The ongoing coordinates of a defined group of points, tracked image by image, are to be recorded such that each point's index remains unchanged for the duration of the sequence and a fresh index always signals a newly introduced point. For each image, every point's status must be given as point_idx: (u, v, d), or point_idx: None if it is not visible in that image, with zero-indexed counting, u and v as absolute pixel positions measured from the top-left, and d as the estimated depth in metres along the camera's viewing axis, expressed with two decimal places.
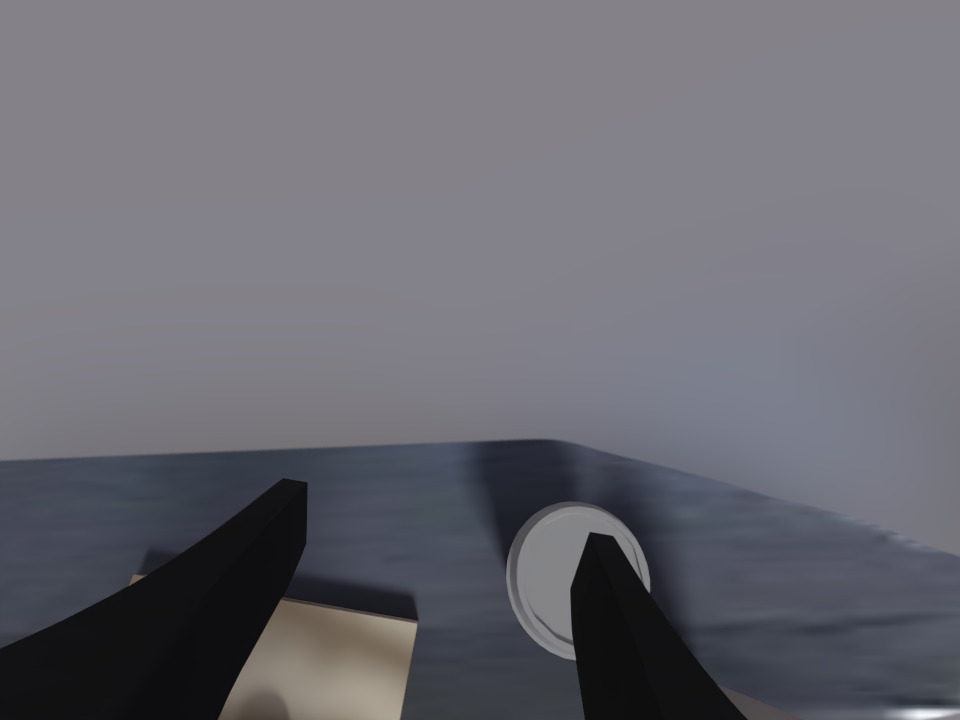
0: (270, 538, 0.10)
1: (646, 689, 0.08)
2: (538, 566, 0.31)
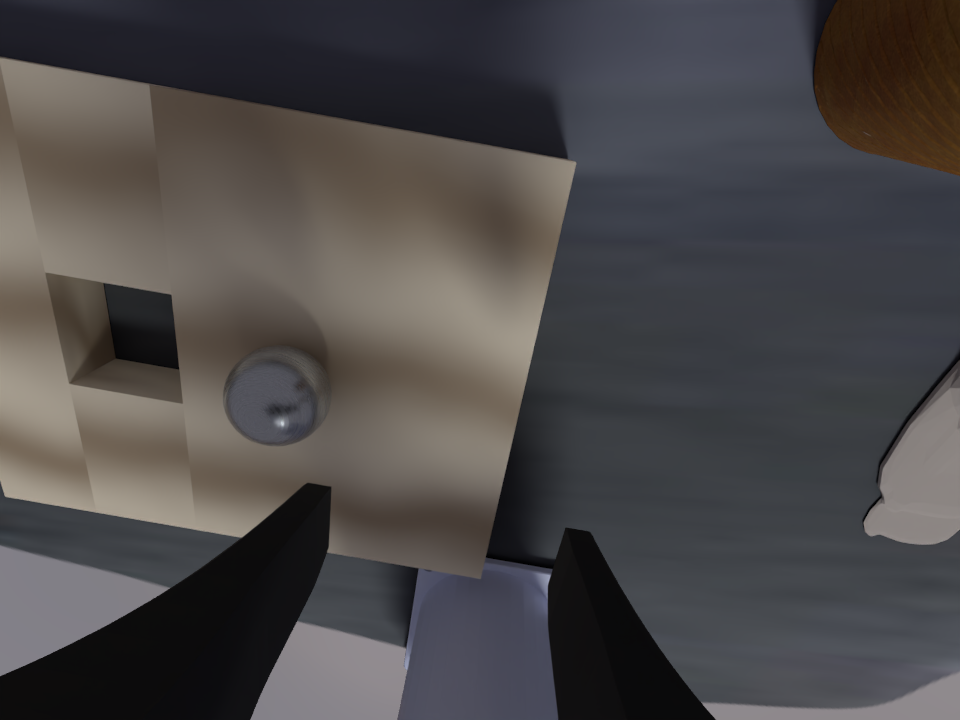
0: (298, 543, 0.10)
1: (610, 683, 0.08)
2: None
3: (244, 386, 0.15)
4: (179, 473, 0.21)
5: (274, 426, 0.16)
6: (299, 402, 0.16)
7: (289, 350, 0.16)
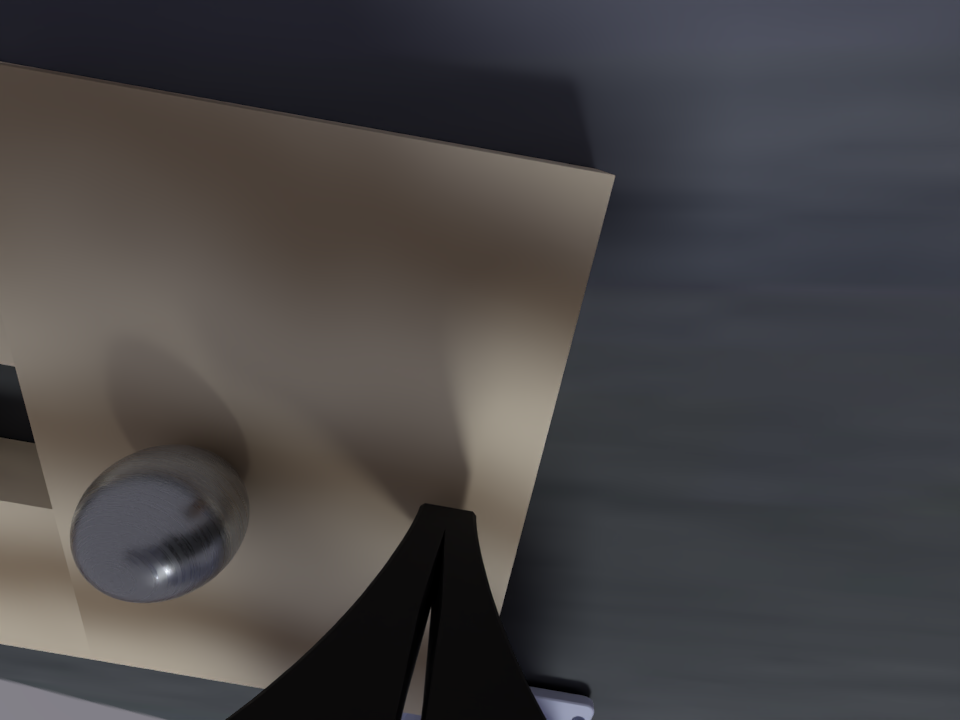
0: (434, 567, 0.10)
1: None
2: None
3: (93, 526, 0.10)
4: (60, 594, 0.15)
5: (143, 586, 0.10)
6: (184, 546, 0.10)
7: (177, 457, 0.11)
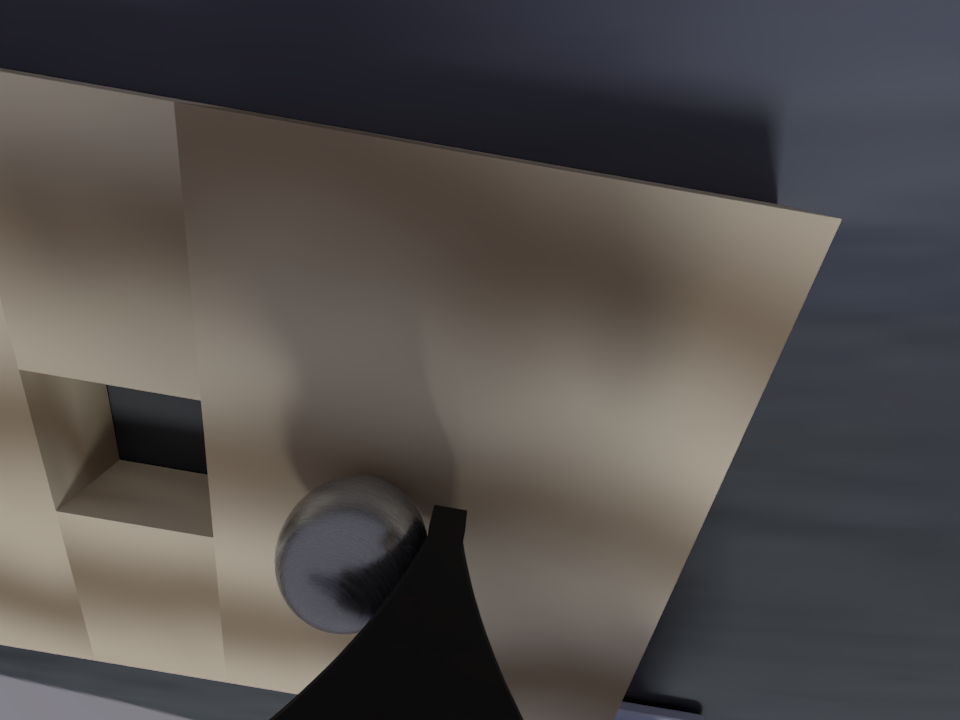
0: None
1: None
2: None
3: (307, 557, 0.10)
4: (205, 618, 0.16)
5: (348, 619, 0.10)
6: (387, 582, 0.10)
7: (373, 491, 0.11)
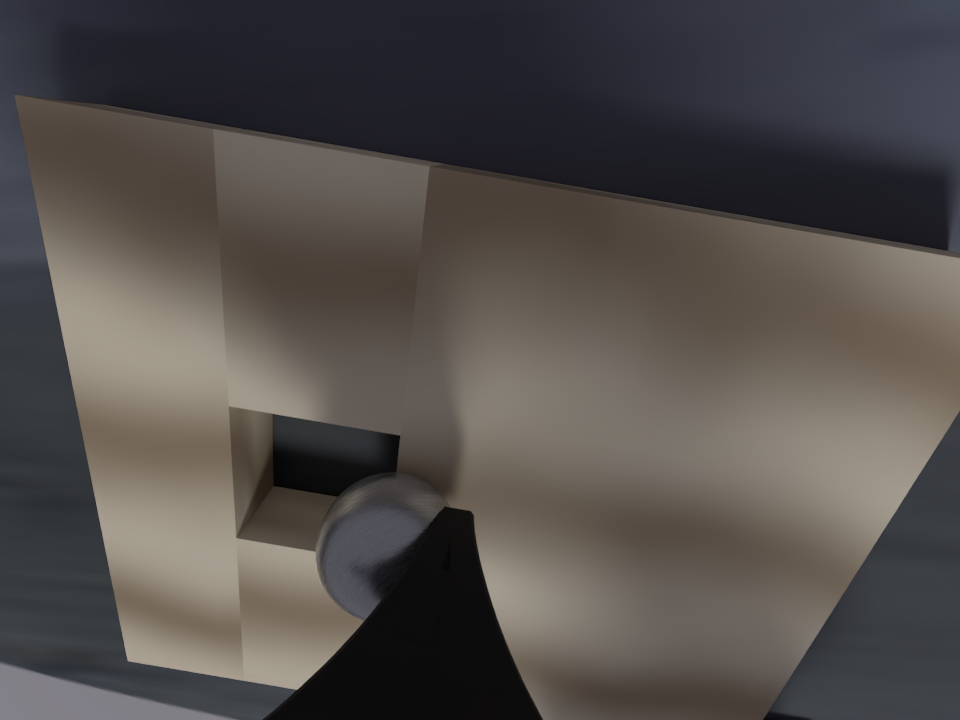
0: None
1: None
2: None
3: None
4: None
5: None
6: (334, 501, 0.12)
7: (393, 501, 0.11)
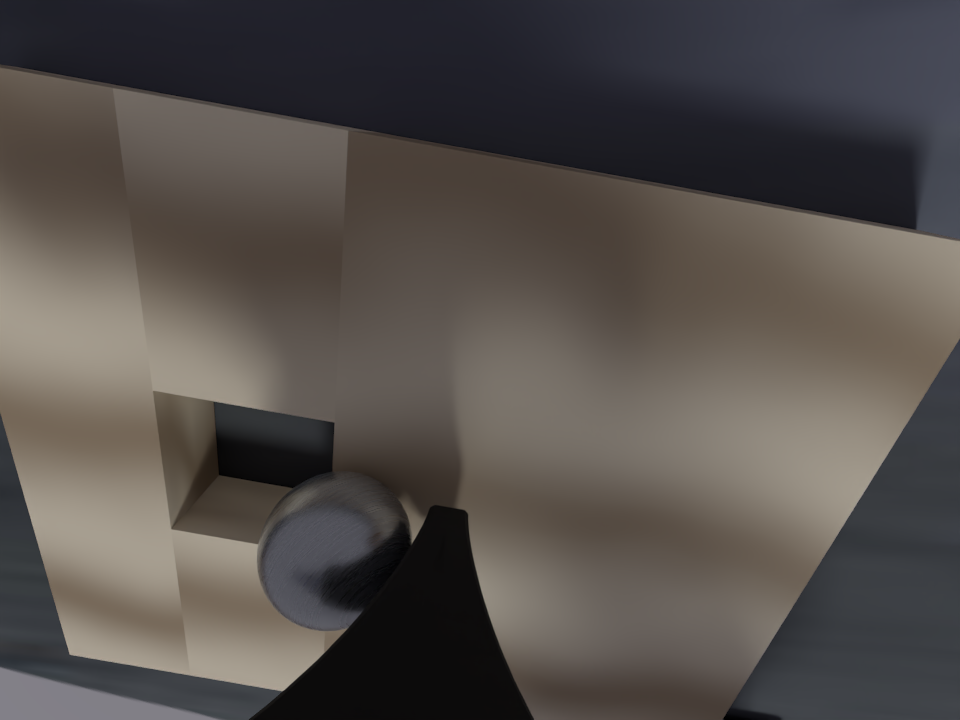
0: None
1: None
2: None
3: (333, 472, 0.12)
4: (309, 635, 0.16)
5: None
6: (269, 517, 0.11)
7: (340, 510, 0.10)
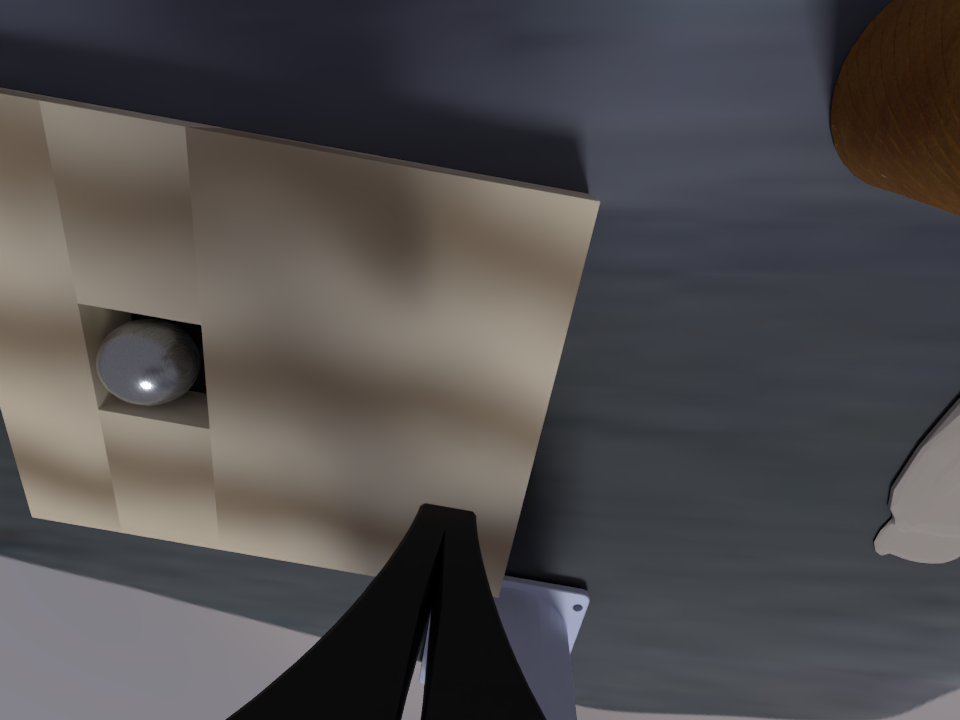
0: (434, 567, 0.10)
1: None
2: None
3: (157, 344, 0.18)
4: (204, 495, 0.21)
5: (194, 362, 0.20)
6: (192, 340, 0.20)
7: (142, 319, 0.19)
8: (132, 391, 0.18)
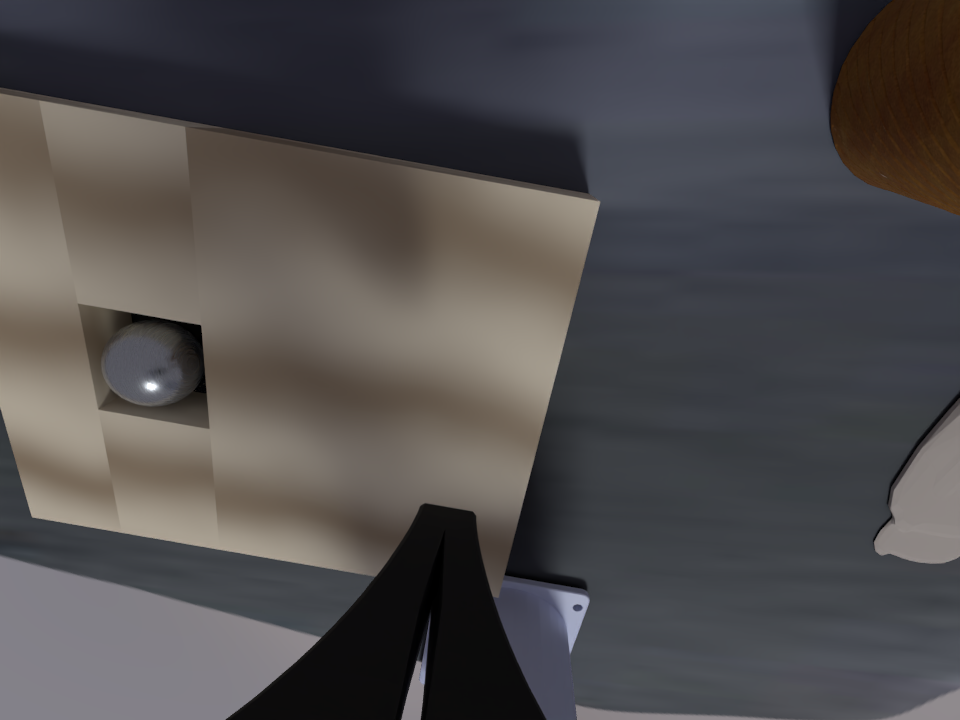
0: (434, 567, 0.10)
1: None
2: None
3: (166, 344, 0.19)
4: (204, 495, 0.21)
5: (201, 361, 0.20)
6: (196, 339, 0.20)
7: (144, 320, 0.19)
8: (143, 392, 0.18)
